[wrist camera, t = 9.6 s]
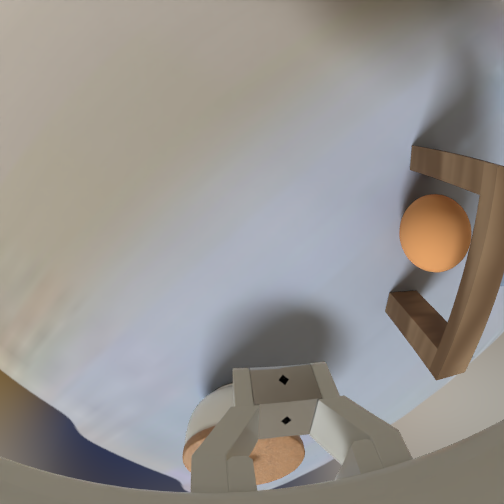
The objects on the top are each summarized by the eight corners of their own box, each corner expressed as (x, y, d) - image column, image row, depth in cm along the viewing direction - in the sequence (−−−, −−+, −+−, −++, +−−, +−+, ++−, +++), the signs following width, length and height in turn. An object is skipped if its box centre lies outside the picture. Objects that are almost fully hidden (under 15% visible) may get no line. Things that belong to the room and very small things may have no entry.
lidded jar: (286, 356, 29) (308, 436, 20) (293, 422, 33) (309, 490, 24) (174, 372, 28) (163, 453, 20) (201, 435, 33) (200, 503, 24)
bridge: (385, 311, 28) (436, 380, 19) (412, 145, 22) (497, 165, 13) (411, 308, 28) (464, 372, 19) (439, 150, 22) (525, 172, 13)
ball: (476, 185, 20) (411, 182, 24) (459, 216, 17) (381, 209, 22) (478, 253, 22) (419, 244, 27) (459, 294, 19) (391, 279, 24)
